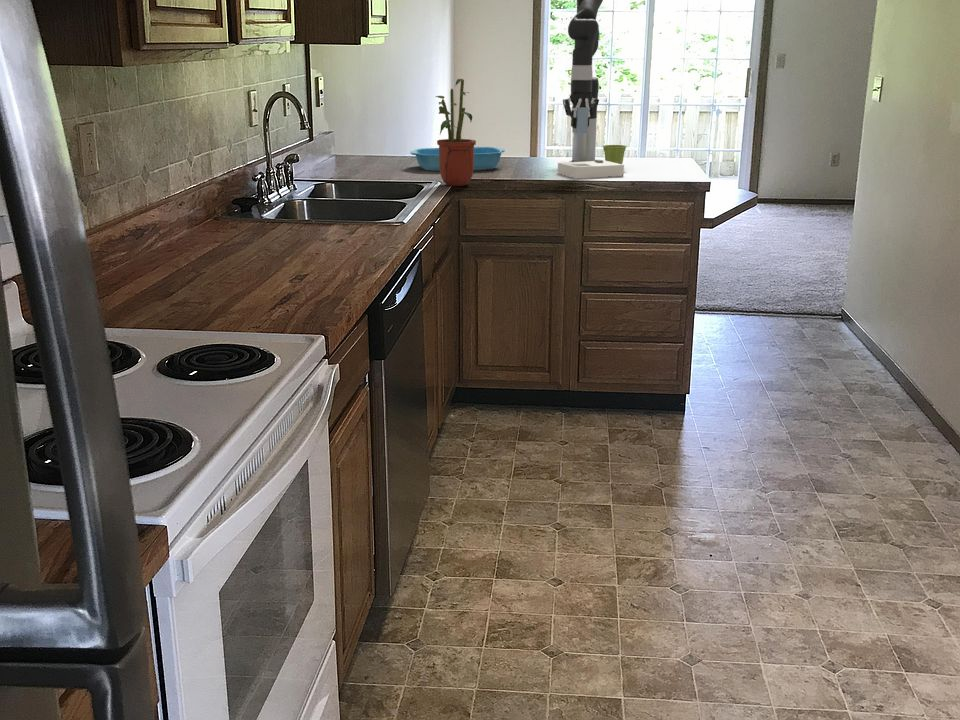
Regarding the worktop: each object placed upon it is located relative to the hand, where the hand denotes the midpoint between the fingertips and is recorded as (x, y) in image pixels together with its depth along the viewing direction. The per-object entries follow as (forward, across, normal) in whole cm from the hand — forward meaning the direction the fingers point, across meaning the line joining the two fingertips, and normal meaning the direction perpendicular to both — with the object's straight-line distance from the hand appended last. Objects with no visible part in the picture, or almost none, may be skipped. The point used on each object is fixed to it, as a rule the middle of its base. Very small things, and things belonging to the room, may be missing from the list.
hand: (579, 127), depth 348 cm
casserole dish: (+18, +34, -37) cm, 53 cm away
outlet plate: (+17, -6, -2) cm, 18 cm away
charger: (+2, 0, 0) cm, 2 cm away
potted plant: (+17, +52, +6) cm, 55 cm away
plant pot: (+17, -23, -15) cm, 32 cm away
